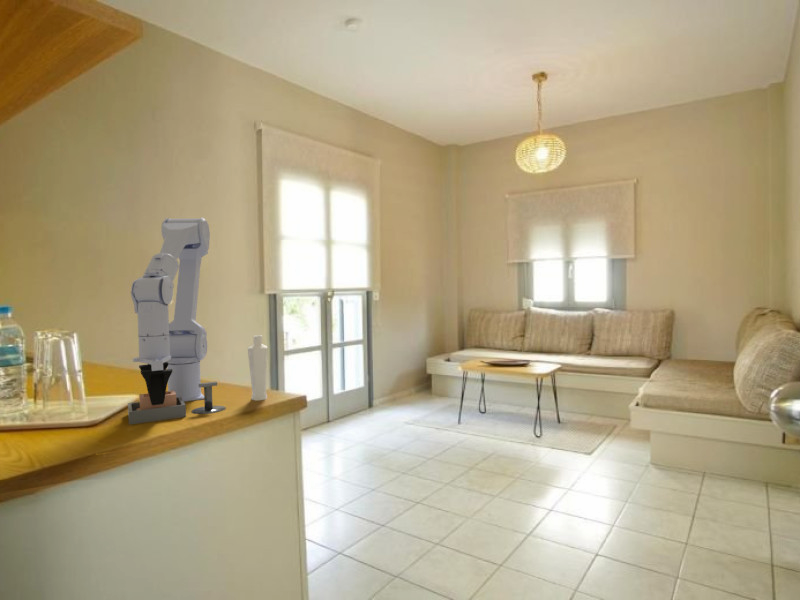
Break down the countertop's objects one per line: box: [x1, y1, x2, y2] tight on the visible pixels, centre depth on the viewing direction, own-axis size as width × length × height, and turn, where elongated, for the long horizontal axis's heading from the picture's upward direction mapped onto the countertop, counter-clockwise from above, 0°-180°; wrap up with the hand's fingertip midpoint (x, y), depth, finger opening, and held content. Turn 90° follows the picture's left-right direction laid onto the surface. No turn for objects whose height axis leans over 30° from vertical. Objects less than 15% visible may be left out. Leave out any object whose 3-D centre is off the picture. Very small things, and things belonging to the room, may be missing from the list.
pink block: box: [137, 390, 177, 410], centre depth 102 cm, size 7×4×4 cm, turn 120°
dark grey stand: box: [190, 381, 227, 415], centre depth 106 cm, size 7×7×6 cm
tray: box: [127, 397, 187, 425], centre depth 102 cm, size 9×10×3 cm
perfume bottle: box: [247, 335, 269, 402], centre depth 116 cm, size 5×4×15 cm
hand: (156, 400), depth 102 cm, fingers open, 7 cm apart
